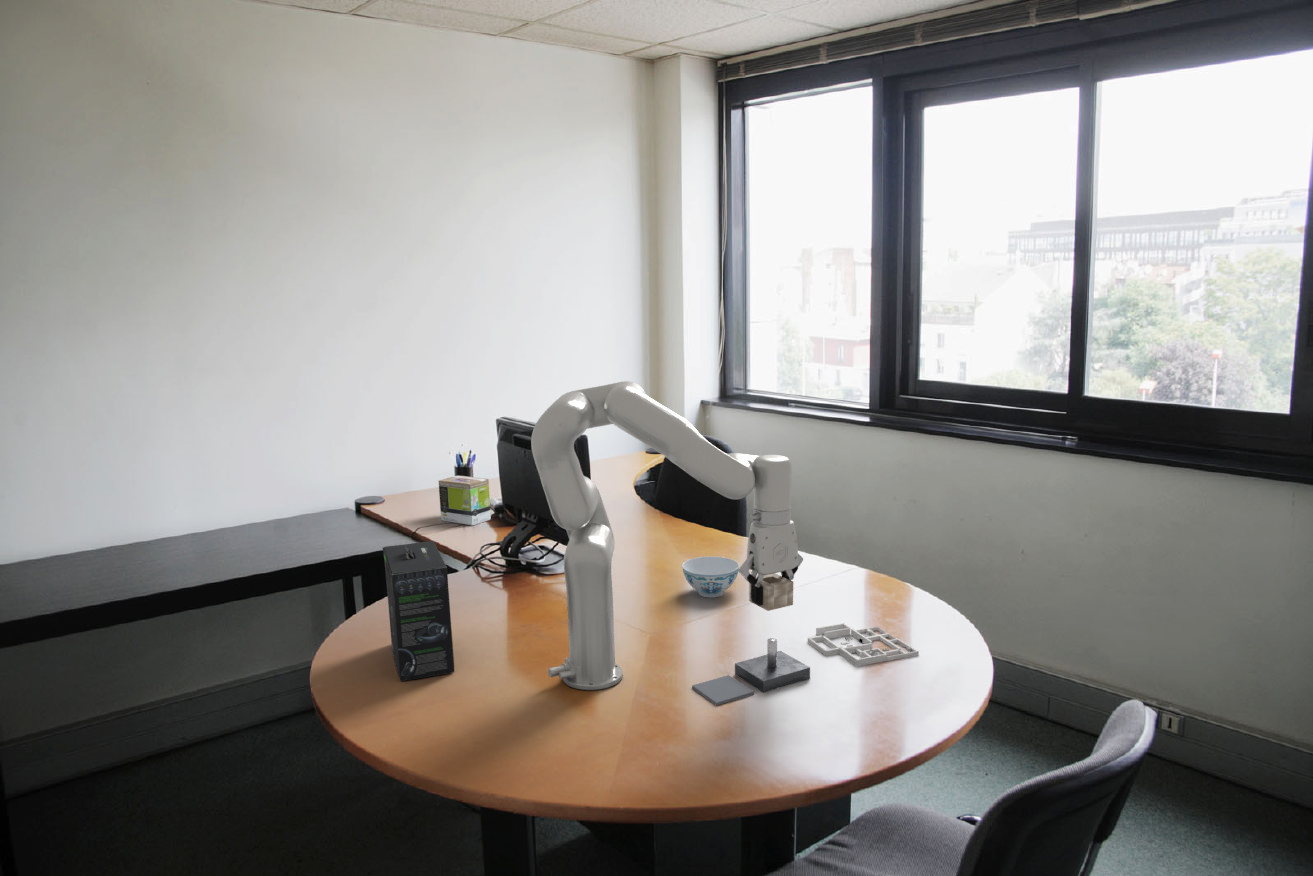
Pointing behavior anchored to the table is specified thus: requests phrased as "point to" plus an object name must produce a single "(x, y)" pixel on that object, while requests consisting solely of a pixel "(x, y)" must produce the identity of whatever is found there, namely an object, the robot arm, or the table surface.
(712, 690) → the mat
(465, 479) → the tea box
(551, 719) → the table surface
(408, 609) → the headset box
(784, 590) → the collar
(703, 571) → the chinaware
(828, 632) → the floor plan model
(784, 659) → the post stand
